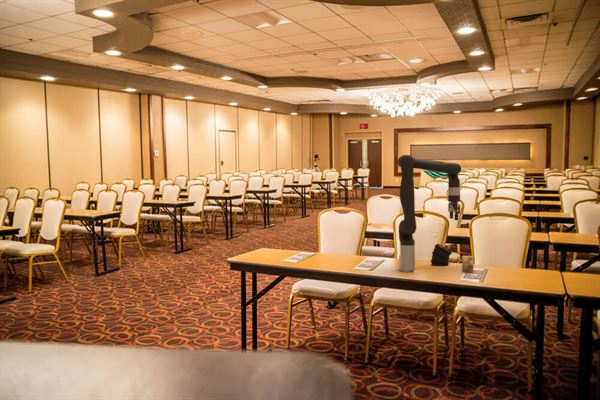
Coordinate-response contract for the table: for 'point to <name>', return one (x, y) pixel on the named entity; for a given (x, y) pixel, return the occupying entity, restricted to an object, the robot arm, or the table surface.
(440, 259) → the black ridged slab
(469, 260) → the maple block
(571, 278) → the table surface
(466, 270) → the walnut block
